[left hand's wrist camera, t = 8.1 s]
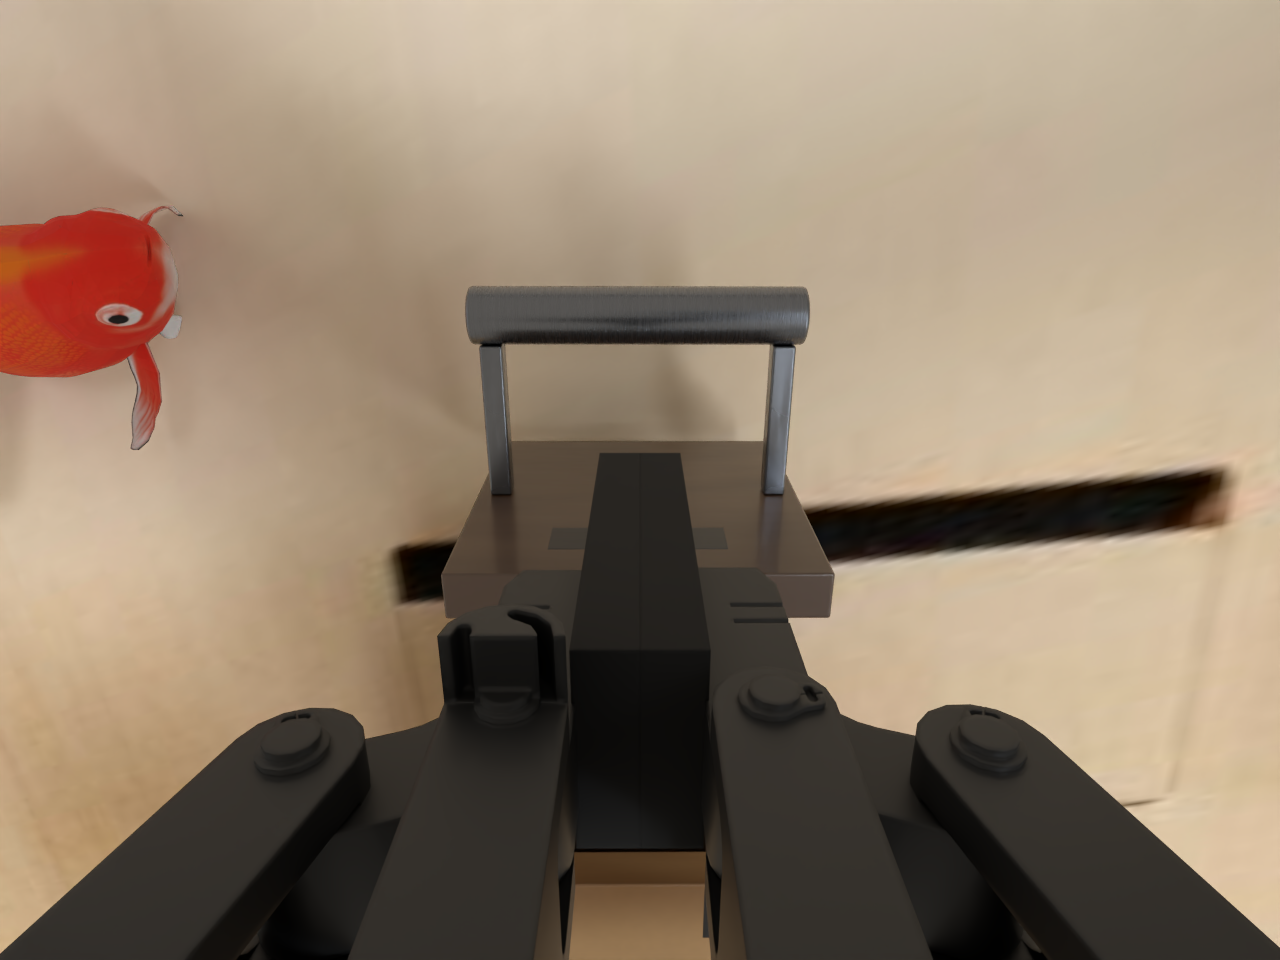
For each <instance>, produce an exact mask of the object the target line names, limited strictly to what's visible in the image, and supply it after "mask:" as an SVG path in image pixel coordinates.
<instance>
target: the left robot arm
mask: <svg viewBox="0 0 1280 960" xmlns="http://www.w3.org/2000/svg"><path fill="white" fill-rule="evenodd" d="M437 638H438V647H439V656H440V666H441V675H442V684H443V694H444V706H443V708H442V711H441V714H440V716H439V718H437V719H435V720H433V721H430V722H428V723H426V724H424V725H422V726H418V727H415V728H411V729H408V730H404V731H400V732H396V733H391V734H386V735H382V736H377V737H373V738H368V739H365V736H364V729H363V726H362V725H361V724H360V723H359V722H358V721H357V719H356V718H355V717H354V716H353V715H351V714H348V713H345V712H342V711H340V710H337V709H332V708H307V709H302V710H297V711H292V712H288V713H283V714H281V715H278V716H276V717H274V718H271V719H269V720H266V721H264V722H262V723H259V724H257V725H256V726H254V727H253V728H252V729H250V730H249V731H247V732H246V733H244V734H243V735H242V736H240V737H239V738H237V739H236V740H235V741H234V742H233V743H232V744H230V745H229V746H228V747H227V748H226V749H225V750H224V751H223V752H222V753H221V754H219V755H218V756H217V757H216V758H215V759H214V760H213V761H212V762H211V763H210V764H208V765H207V766H206V767H205V768H204V769H203V770H202V771H201V772H200V773H199V774H197V775H196V776H195V777H194V778H193V779H192V780H191V781H190V782H189V783H188V784H186V785H185V786H184V787H183V788H182V789H181V790H180V791H179V792H178V793H177V794H175V795H174V796H173V797H172V798H171V799H170V800H169V801H168V802H167V803H166V804H164V805H163V806H162V807H161V808H160V809H159V810H158V811H157V812H156V813H155V814H153V815H152V816H151V817H150V818H149V819H148V820H147V821H146V822H145V823H144V824H142V825H141V826H140V827H139V828H138V829H137V830H136V831H135V832H134V833H133V834H131V835H130V836H129V837H128V838H127V839H126V840H125V841H124V842H123V843H122V844H120V845H119V846H118V847H117V848H116V849H115V850H114V851H113V852H112V853H111V854H109V855H108V856H107V857H106V858H105V859H104V860H103V861H102V862H101V863H100V864H98V865H97V866H96V867H95V868H94V869H93V870H92V871H91V872H90V873H89V874H87V875H86V876H85V877H84V878H83V879H82V880H81V881H80V882H79V883H78V884H76V885H75V886H74V887H73V888H72V889H71V890H70V891H69V892H68V893H67V894H65V895H64V896H63V897H62V898H61V899H60V900H59V901H58V902H57V903H56V904H54V905H53V906H52V907H51V908H50V909H49V910H48V911H47V912H46V913H45V914H44V915H42V916H41V917H40V918H39V919H38V920H37V921H36V922H35V923H34V924H33V925H31V926H30V927H29V928H28V929H27V930H26V931H25V932H24V933H23V934H22V935H20V936H19V937H18V938H17V939H16V940H15V941H14V942H13V943H12V944H11V945H9V946H8V947H7V948H6V949H5V950H4V951H3V952H2V953H1V954H0V960H569V954H570V943H571V932H572V921H573V909H574V898H575V865H574V849H575V839H576V845H577V848H703V845H704V835H705V845H706V865H705V890H704V916H703V938H709V942H710V953H711V960H1280V948H1279V947H1278V946H1277V945H1276V944H1275V943H1274V942H1273V941H1272V940H1271V939H1269V938H1268V937H1267V936H1266V935H1265V934H1264V933H1263V932H1262V931H1261V930H1259V929H1258V928H1257V927H1256V926H1255V925H1254V924H1253V923H1252V922H1251V921H1250V920H1248V919H1247V918H1246V917H1245V916H1244V915H1243V914H1242V913H1241V912H1240V911H1238V910H1237V909H1236V908H1235V907H1234V906H1233V905H1232V904H1231V903H1230V902H1228V901H1227V900H1226V899H1225V898H1224V897H1223V896H1222V895H1221V894H1220V893H1218V892H1217V891H1216V890H1215V889H1214V888H1213V887H1212V886H1211V885H1210V884H1208V883H1207V882H1206V881H1205V880H1204V879H1203V878H1202V877H1201V876H1200V875H1198V874H1197V873H1196V872H1195V871H1194V870H1193V869H1192V868H1191V867H1190V866H1189V865H1187V864H1186V863H1185V862H1184V861H1183V860H1182V859H1181V858H1180V857H1179V856H1177V855H1176V854H1175V853H1174V852H1173V851H1172V850H1171V849H1170V848H1169V847H1167V846H1166V845H1165V844H1164V843H1163V842H1162V841H1161V840H1160V839H1159V838H1157V837H1156V836H1155V835H1154V834H1153V833H1152V832H1151V831H1150V830H1149V829H1148V828H1146V827H1145V826H1144V825H1143V824H1142V823H1141V822H1140V821H1139V820H1138V819H1136V818H1135V817H1134V816H1133V815H1132V814H1131V813H1130V812H1129V811H1128V810H1126V809H1125V808H1124V807H1123V806H1122V805H1121V804H1120V803H1119V802H1118V801H1116V800H1115V799H1114V798H1113V797H1112V796H1111V795H1110V794H1109V793H1108V792H1106V791H1105V790H1104V789H1103V788H1102V787H1101V786H1100V785H1099V784H1098V783H1097V782H1095V781H1094V780H1093V779H1092V778H1091V777H1090V776H1089V775H1088V774H1087V773H1085V772H1084V771H1083V770H1082V769H1081V768H1080V767H1079V766H1078V765H1077V764H1075V763H1074V762H1073V761H1072V760H1071V759H1070V758H1069V757H1068V756H1067V755H1065V754H1064V753H1063V752H1062V751H1061V750H1060V749H1059V748H1058V747H1057V746H1055V745H1054V744H1053V743H1052V742H1051V741H1050V740H1049V739H1048V738H1047V737H1045V736H1044V735H1043V734H1041V733H1040V732H1039V731H1037V730H1036V729H1034V728H1033V727H1031V726H1030V725H1028V724H1027V723H1026V722H1024V721H1023V720H1020V719H1018V718H1016V717H1013V716H1011V715H1008V714H1006V713H1003V712H1001V711H999V710H996V709H991V708H987V707H982V706H976V705H971V704H970V705H945V706H942V707H940V708H937V709H934V710H931V711H928V712H927V713H926V714H925V715H924V717H923V718H922V719H921V720H920V721H919V722H918V723H917V729H916V736H914V735H909V734H904V733H900V732H895V731H890V730H886V729H881V728H877V727H873V726H870V725H866V724H863V723H860V722H857V721H855V720H852V719H850V718H848V717H846V716H844V715H842V714H840V712H839V710H838V707H837V704H836V702H835V701H834V699H833V698H832V696H831V695H830V693H829V692H828V690H827V689H826V688H825V687H824V686H822V685H821V684H819V683H818V682H816V681H815V680H813V679H812V678H810V677H809V676H808V675H807V672H806V669H805V666H804V663H803V660H802V657H801V654H800V651H799V649H798V646H797V643H796V640H795V637H794V634H793V631H792V628H791V626H790V623H788V617H787V614H786V611H785V608H784V607H783V602H782V600H781V597H780V594H779V591H778V588H777V585H776V583H774V582H773V581H772V580H771V579H770V578H768V577H767V576H766V575H765V574H764V573H763V572H761V571H760V570H759V569H758V568H698V564H697V557H696V551H695V545H694V538H693V532H692V525H691V519H690V512H689V506H688V499H687V493H686V486H685V480H684V473H683V467H682V460H681V454H680V453H600V454H599V460H598V467H597V473H596V480H595V486H594V493H593V499H592V506H591V512H590V519H589V525H588V532H587V538H586V545H585V551H584V557H583V564H582V570H523V571H522V572H521V573H519V574H518V575H517V576H516V577H515V578H513V579H512V580H511V581H510V582H509V583H508V584H506V585H505V586H504V588H503V591H502V594H501V597H500V600H499V603H498V605H495V606H487V607H483V608H480V609H477V610H473V611H470V612H467V613H465V614H463V615H461V616H459V617H458V618H456V619H454V620H453V621H451V622H449V623H448V624H447V625H446V626H445V627H444V629H443V630H442V631H441V632H440V633H439V635H438V636H437Z"/></svg>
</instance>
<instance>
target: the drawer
mask: <svg viewBox="0 0 1280 960" xmlns="http://www.w3.org/2000/svg"><path fill="white" fill-rule="evenodd" d="M465 317H466V327H467V332H468V336H469V339H470V341H471V343H473V344H481V346H480V348H479V351H480V364H481V377H482V389H483V402H484V415H485V427H486V440H487V453H488V465H489V474H488V476H487V478H486V480H485V482H484V484H483V487H482V489H481V491H480V493H479V495H478V497H477V499H476V502H475V504H474V506H473V508H472V510H471V512H470V514H469V517H468V519H467V521H466V523H465V525H464V527H463V530H462V532H461V534H460V536H459V538H458V540H457V542H456V545H455V547H454V549H453V551H452V553H451V555H450V557H449V560H448V562H447V564H446V566H445V568H444V570H443V572H442V575H441V578H442V587H443V596H444V605H445V614H446V618H458V617H459V616H461V615H463V614H465V613H467V612H470V611H473V610H477V609H480V608H483V607H487V606H495V605H498V603H499V600H500V597H501V594H502V591H503V588H504V586H505V585H506V584H508V583H509V582H510V581H511V580H512V579H513V578H515V577H516V576H517V575H518V574H519V573H521V572H522V571H523V570H582V564H583V557H584V551H585V545H586V538H587V532H588V525H589V519H590V512H591V506H592V499H593V493H594V486H595V480H596V473H597V467H598V460H599V454H600V453H680V454H681V460H682V467H683V473H684V480H685V486H686V493H687V499H688V506H689V512H690V519H691V525H692V532H693V538H694V545H695V551H696V557H697V564H698V568H758V569H759V570H760V571H761V572H763V573H764V574H765V575H766V576H767V577H768V578H770V579H771V580H772V581H773V582H774V583H776V585H777V588H778V591H779V594H780V597H781V600H782V602H783V607H784V608H785V611H786V614H787V617H788V618H828V617H829V616H830V612H831V603H832V594H833V585H834V576H835V575H834V572H833V570H832V568H831V566H830V564H829V562H828V560H827V558H826V556H825V554H824V551H823V549H822V547H821V545H820V543H819V541H818V539H817V537H816V535H815V533H814V531H813V529H812V527H811V525H810V523H809V521H808V518H807V516H806V514H805V512H804V510H803V508H802V506H801V504H800V502H799V500H798V498H797V496H796V494H795V492H794V490H793V488H792V485H791V483H790V481H789V479H788V477H787V475H786V463H787V450H788V438H789V426H790V413H791V401H792V389H793V376H794V364H795V352H796V348H795V346H794V345H800V344H803V343H804V341H805V339H806V337H807V333H808V328H809V319H810V302H809V295H808V292H807V289H806V288H804V287H689V286H472V287H470V288H469V289H468V292H467V295H466V303H465ZM505 344H714V345H770V353H769V368H768V383H767V397H766V412H765V427H764V441H511V429H510V414H509V399H508V384H507V368H506V353H505ZM574 852H706V845H705V835H704V845H703V848H577V845H576V839H575V849H574Z"/></svg>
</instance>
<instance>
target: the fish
mask: <svg viewBox="0 0 1280 960" xmlns="http://www.w3.org/2000/svg"><path fill="white" fill-rule="evenodd" d="M166 208H168V209H169V210H171V211H172V212H174V213H175V214H177V215H178V216H183V215H182V214H181V213H180V212H179V211H178V210H177V209H176V208H175V207H174V206H161V207H158V208H156V209H153V210H151V211H149V212H147V213H145V214H144V215H142V216H141V217H140V218H138V219H135V218H133V217H130V216H128V215H126V214H124V213H122V212H120V211H118V210H115V209H110V208H95V209H92V210H89V211H86V212H84V213H81V214H77V215H69V216H58V217H55V218H52V219H50V220H49V221H47V222H46V223H45V224H25V225H8V226H0V372H4V373H7V374H13V375H19V376H28V377H72V376H77V375H81V374H84V373H88V372H91V371H95V370H98V369H102V368H106V367H109V366H112V365H115V364H117V363H119V362H122V361H123V360H124V359H126V358H127V359H128V362H129V365H130V368H131V370H132V373H133V375H134V377H135V380H136V383H137V394H136V399H135V404H134V408H133V413H132V434H133V439H132V444H131V449H133V450H139V449H140V448H141V447H143V446H144V445H145V444H146V443H147V442H148V441H149V439H150V437H151V434H152V432H153V430H154V427H155V418H156V416H157V414H158V412H159V409H160V406H161V402H162V397H161V386H160V373H159V370H158V368H157V365H156V363H155V360H154V358H153V356H152V353H151V351H150V348H149V346H148V342H149V341H150V340H151V339H152V338H153V337H155V336H156V335H157V334H159V333H160V334H161V335H162V336H163V337H165V338H168V339H172V338H176V337H177V336H178V334H179V331H180V327H181V322H182V318H181V316H178V315H173V314H174V308H175V301H176V295H177V289H178V273H177V270H176V266H175V263H174V260H173V256H172V253H171V250H170V247H169V246H168V245H167V244H166V242H165V241H164V240H163V238H162V237H161V236H160V235H159V233H158V232H157V231H156V230H155V229H154V228H152V227H151V226H149V225H148V224H149V223H150V221H151V219H152V217H153V215H154V213H156V212H158V211H161V210H164V209H166Z"/></svg>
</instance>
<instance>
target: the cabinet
mask: <svg viewBox="0 0 1280 960" xmlns="http://www.w3.org/2000/svg"><path fill="white" fill-rule="evenodd" d="M574 865H575V898H574V909H573V921H572V932H571V943H570V954H569V960H711V953H710V942H709V938H703V916H704V890H705V865H706V852H574Z"/></svg>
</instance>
